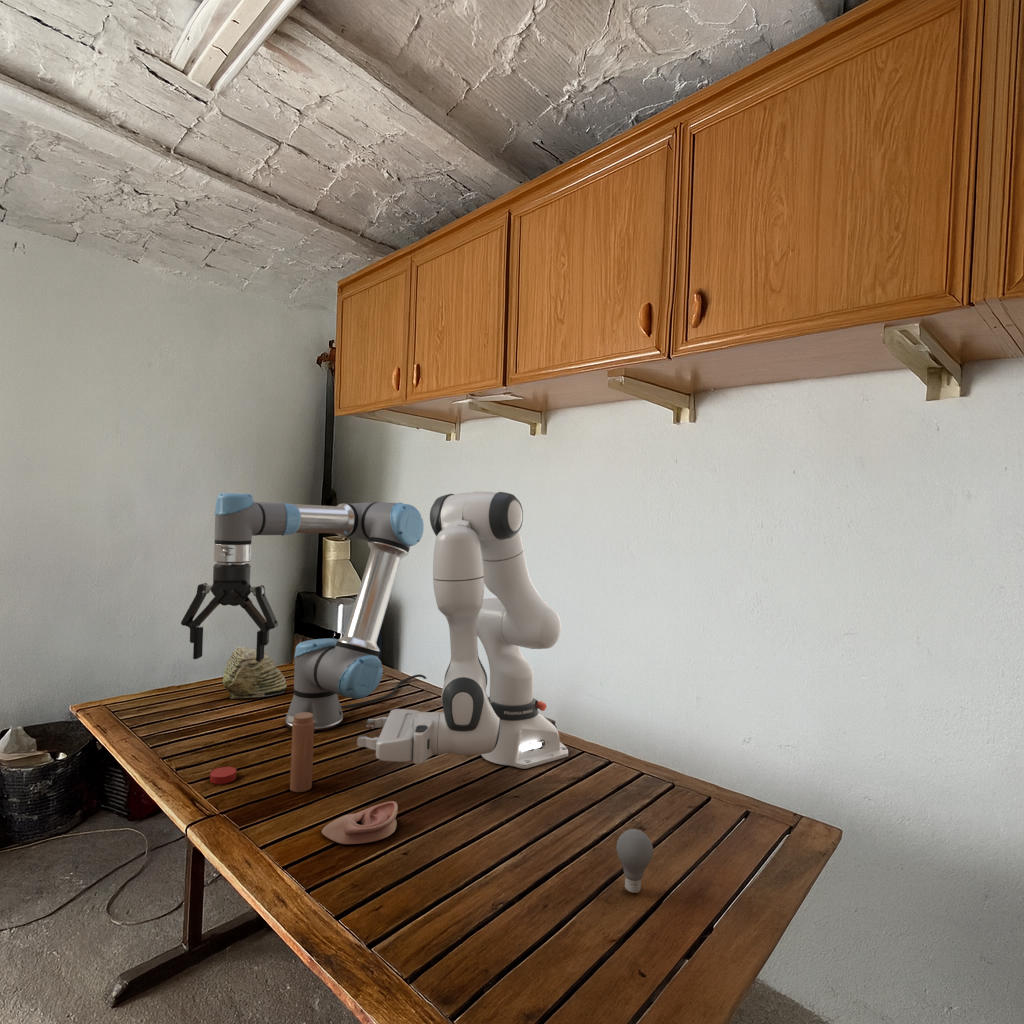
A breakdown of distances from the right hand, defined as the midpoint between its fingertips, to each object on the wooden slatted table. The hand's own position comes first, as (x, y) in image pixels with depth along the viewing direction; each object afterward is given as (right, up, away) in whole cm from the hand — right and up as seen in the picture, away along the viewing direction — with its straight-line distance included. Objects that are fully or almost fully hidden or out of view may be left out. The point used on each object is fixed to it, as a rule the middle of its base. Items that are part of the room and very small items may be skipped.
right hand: (362, 732), depth 138 cm
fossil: (-48, -9, +60) cm, 77 cm away
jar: (-13, -12, -1) cm, 18 cm away
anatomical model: (+4, -13, -17) cm, 22 cm away
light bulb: (+53, -15, -33) cm, 64 cm away
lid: (-31, -10, +2) cm, 33 cm away
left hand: (-30, +16, +2) cm, 34 cm away
